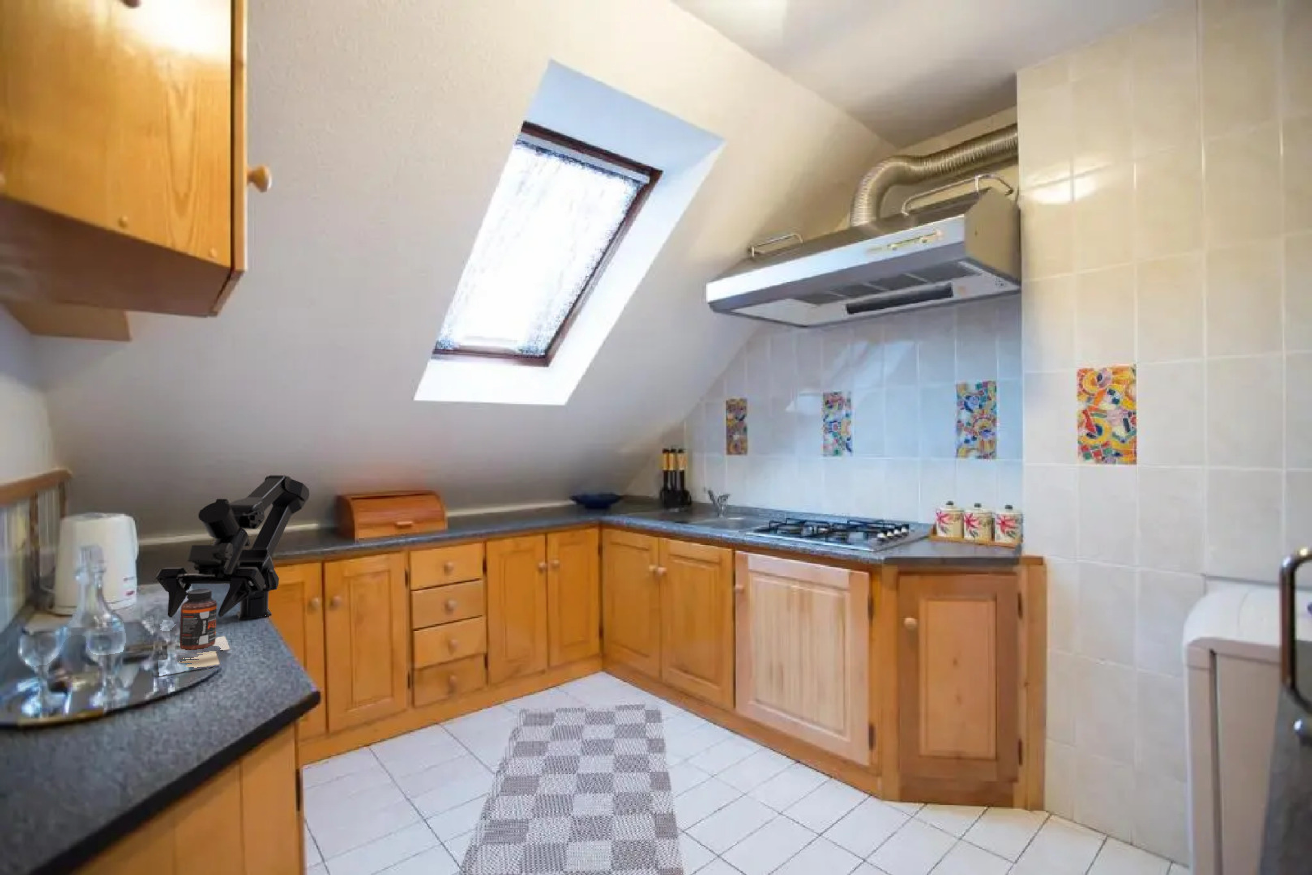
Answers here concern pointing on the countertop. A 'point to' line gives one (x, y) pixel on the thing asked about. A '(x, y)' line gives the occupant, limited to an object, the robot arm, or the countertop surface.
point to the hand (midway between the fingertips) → (194, 616)
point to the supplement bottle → (198, 620)
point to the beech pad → (203, 660)
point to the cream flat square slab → (221, 643)
